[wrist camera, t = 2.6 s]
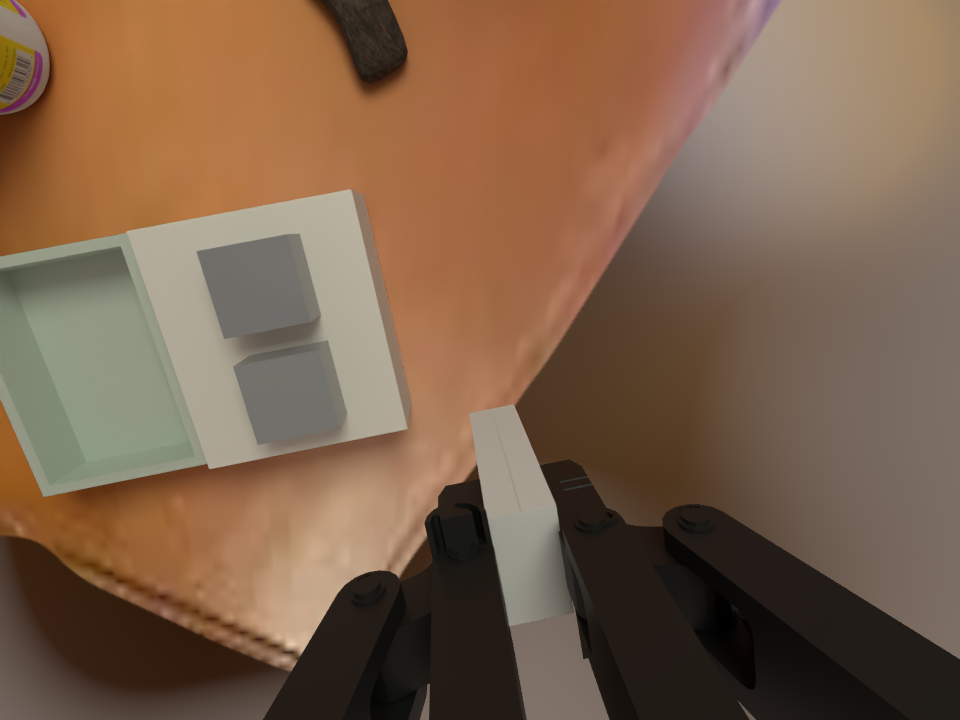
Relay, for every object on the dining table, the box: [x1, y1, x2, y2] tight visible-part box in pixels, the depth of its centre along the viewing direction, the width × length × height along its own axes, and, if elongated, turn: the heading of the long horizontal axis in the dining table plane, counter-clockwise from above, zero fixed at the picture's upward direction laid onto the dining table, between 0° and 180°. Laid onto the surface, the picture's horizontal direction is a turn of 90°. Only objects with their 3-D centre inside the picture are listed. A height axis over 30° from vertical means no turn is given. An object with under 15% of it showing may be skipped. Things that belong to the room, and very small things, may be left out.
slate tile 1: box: [233, 340, 347, 445], centre depth 29 cm, size 4×4×2 cm
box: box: [0, 233, 207, 497], centre depth 32 cm, size 10×14×4 cm
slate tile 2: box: [196, 234, 321, 339], centre depth 28 cm, size 4×4×2 cm
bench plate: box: [127, 189, 411, 469], centre depth 32 cm, size 12×14×5 cm
